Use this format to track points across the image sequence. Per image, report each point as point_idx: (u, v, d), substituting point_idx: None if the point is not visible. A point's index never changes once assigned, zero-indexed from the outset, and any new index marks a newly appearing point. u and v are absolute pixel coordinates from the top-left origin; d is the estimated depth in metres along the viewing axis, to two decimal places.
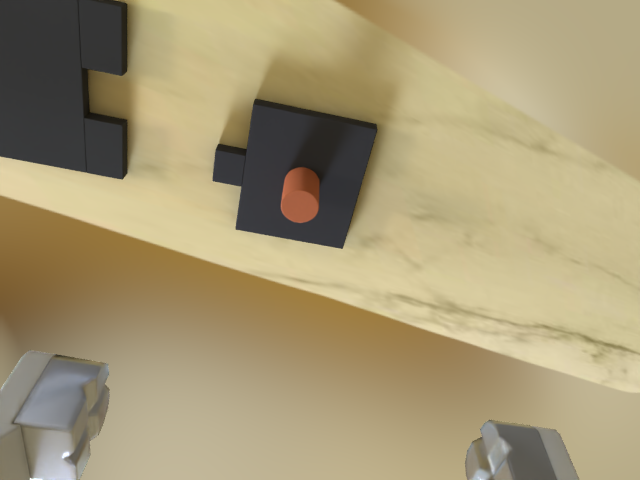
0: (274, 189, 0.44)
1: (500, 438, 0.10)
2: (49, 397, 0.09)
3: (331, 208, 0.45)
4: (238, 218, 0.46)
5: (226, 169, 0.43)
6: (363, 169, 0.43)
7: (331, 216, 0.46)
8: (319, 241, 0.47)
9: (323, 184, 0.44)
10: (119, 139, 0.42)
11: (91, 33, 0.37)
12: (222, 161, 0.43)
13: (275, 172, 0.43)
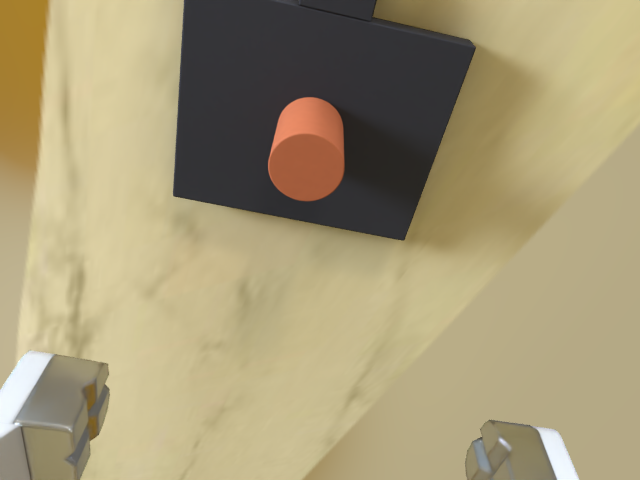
0: (295, 77, 0.22)
1: (500, 438, 0.10)
2: (49, 397, 0.09)
3: (258, 178, 0.25)
4: None
5: None
6: (336, 224, 0.26)
7: (241, 177, 0.25)
8: (183, 157, 0.24)
9: None
10: None
11: None
12: None
13: (332, 80, 0.22)
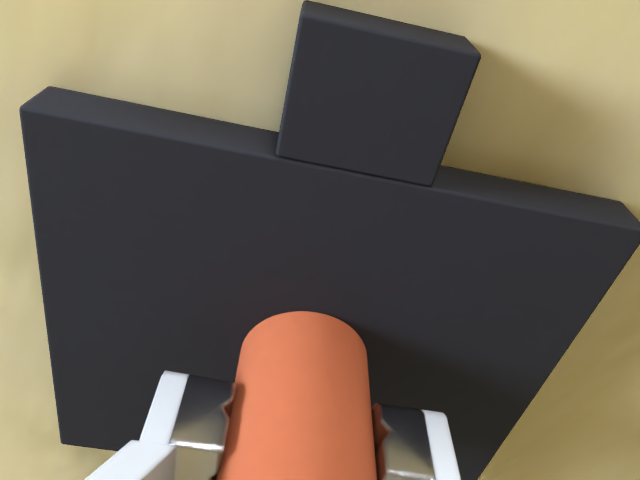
0: (273, 279, 0.11)
1: (380, 421, 0.10)
2: (196, 418, 0.09)
3: None
4: (91, 128, 0.09)
5: (369, 98, 0.09)
6: None
7: None
8: (69, 395, 0.13)
9: None
10: None
11: None
12: (414, 82, 0.09)
13: (347, 285, 0.11)
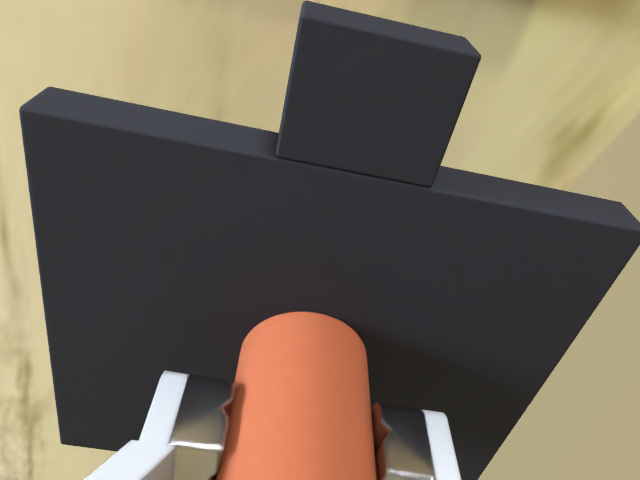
0: (273, 280, 0.11)
1: (381, 421, 0.10)
2: (195, 418, 0.09)
3: None
4: (91, 128, 0.09)
5: (369, 98, 0.09)
6: None
7: None
8: (69, 395, 0.13)
9: None
10: None
11: None
12: (414, 83, 0.09)
13: (347, 286, 0.11)
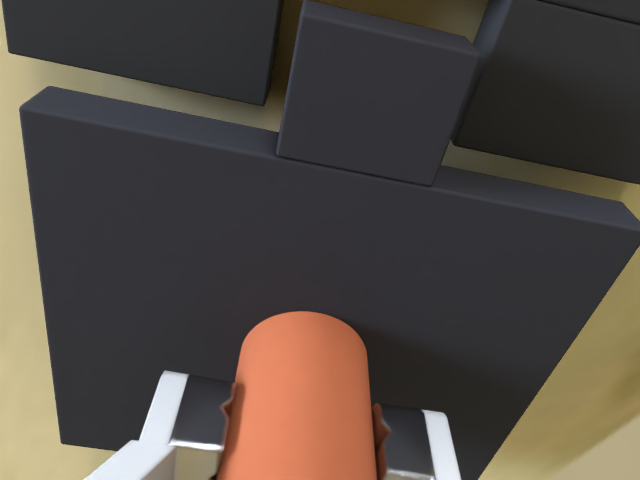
0: (272, 279, 0.11)
1: (381, 420, 0.10)
2: (195, 417, 0.09)
3: None
4: (91, 127, 0.09)
5: (369, 97, 0.09)
6: None
7: None
8: (69, 395, 0.13)
9: None
10: (202, 82, 0.10)
11: (625, 72, 0.10)
12: (414, 82, 0.09)
13: (347, 286, 0.11)
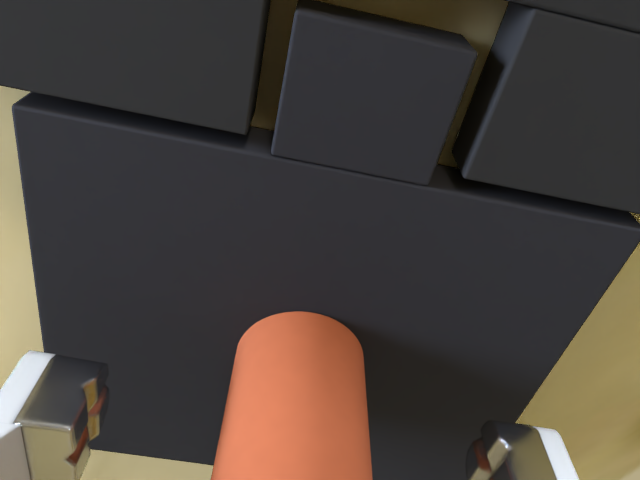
0: (268, 279, 0.11)
1: (500, 438, 0.10)
2: (49, 397, 0.09)
3: (207, 423, 0.14)
4: (84, 126, 0.09)
5: (365, 96, 0.09)
6: None
7: (174, 422, 0.14)
8: None
9: None
10: (174, 109, 0.09)
11: None
12: (410, 80, 0.08)
13: (343, 286, 0.11)
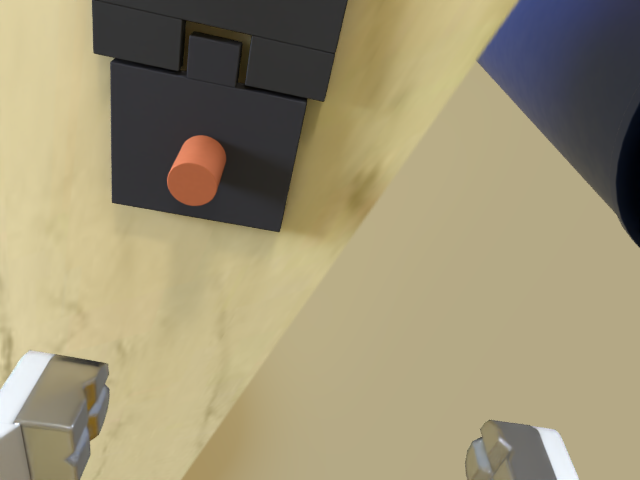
0: (189, 122, 0.33)
1: (500, 438, 0.10)
2: (49, 397, 0.09)
3: None
4: (131, 68, 0.31)
5: (211, 59, 0.31)
6: (230, 221, 0.37)
7: (159, 189, 0.36)
8: (117, 176, 0.35)
9: None
10: (157, 63, 0.31)
11: (294, 59, 0.31)
12: (223, 54, 0.31)
13: (214, 124, 0.33)
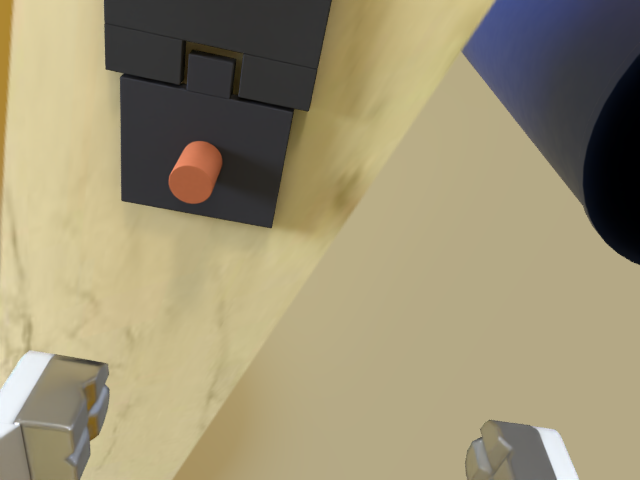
0: (189, 129, 0.37)
1: (500, 438, 0.10)
2: (49, 397, 0.09)
3: None
4: (138, 82, 0.35)
5: (208, 74, 0.35)
6: (227, 218, 0.41)
7: (163, 189, 0.40)
8: (126, 177, 0.39)
9: None
10: (161, 77, 0.35)
11: (281, 74, 0.35)
12: (218, 70, 0.35)
13: (211, 131, 0.37)
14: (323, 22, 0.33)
